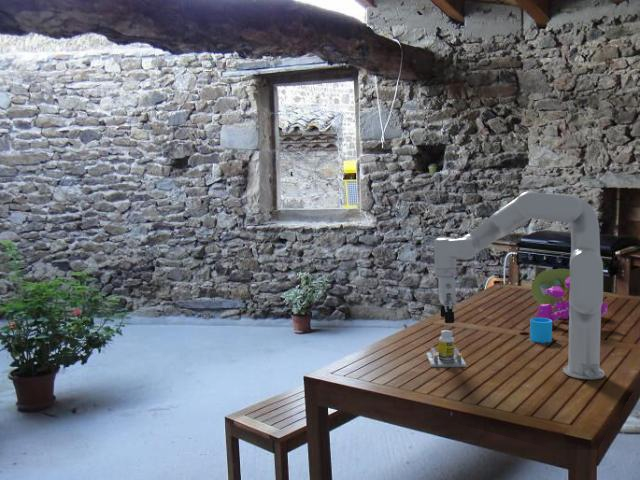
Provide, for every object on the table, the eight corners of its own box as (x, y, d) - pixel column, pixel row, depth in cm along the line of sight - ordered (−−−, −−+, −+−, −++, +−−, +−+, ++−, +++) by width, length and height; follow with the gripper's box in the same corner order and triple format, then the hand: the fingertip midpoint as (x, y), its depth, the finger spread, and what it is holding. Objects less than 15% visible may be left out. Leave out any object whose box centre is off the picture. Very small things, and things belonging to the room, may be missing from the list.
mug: (548, 344, 234) (548, 323, 233) (527, 340, 239) (527, 320, 238) (557, 337, 243) (557, 317, 242) (537, 334, 248) (537, 315, 247)
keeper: (466, 366, 208) (466, 355, 208) (431, 367, 209) (431, 355, 208) (458, 354, 222) (459, 344, 222) (426, 355, 223) (426, 344, 222)
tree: (591, 250, 276) (599, 273, 244) (606, 307, 280) (616, 337, 248) (524, 265, 287) (524, 289, 255) (539, 319, 291) (541, 349, 259)
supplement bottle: (447, 361, 212) (447, 334, 210) (435, 357, 216) (435, 331, 215) (457, 358, 215) (457, 331, 214) (445, 354, 219) (445, 328, 218)
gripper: (460, 275, 203) (462, 325, 205) (452, 268, 220) (453, 314, 222) (438, 276, 204) (440, 325, 205) (431, 269, 221) (433, 314, 222)
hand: (447, 319), depth 214 cm, fingers open, 9 cm apart
